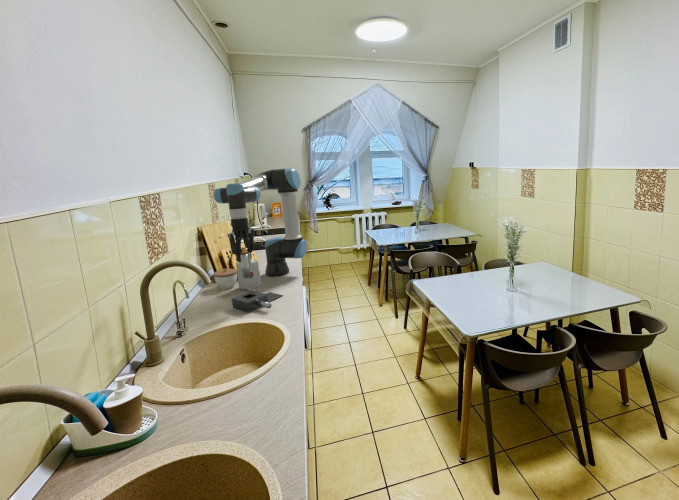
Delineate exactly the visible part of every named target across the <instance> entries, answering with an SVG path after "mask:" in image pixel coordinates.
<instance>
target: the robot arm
mask: <svg viewBox="0 0 679 500" xmlns="http://www.w3.org/2000/svg"><path fill="white" fill-rule="evenodd" d="M301 182H302V181H301V176H300V174H299V172H298V170H296V169H294V168H289V167H288V168H278V169H269V170H266V171H262V172H260V173H257V174H255V175H254V176H253V177H251V178H249V179H246V180H243V181H241V182H238V183H236V182H235V183H228V184H226V187H219V188H215V190H214V191H213V197H214V201H215V202H216V203H218V204H224V205H225V204H228V208H229V209H228V210H229V217H230V218H231V219H230V225H231V228H232V230H231V232H230V233H227V234H226V235H227V237H228V239H229V240H228V241H229V245H230V251H231V255H235V257H236V261H237V262H236V263H239V268H244V263H243V256H242V255H241V248H242V240H243V244H244V248H247V250H248V259H249V266H252V264H251V260H252V257H253V256H252V253H253V252H254V250H255V240H254V239H255V238H254V237H255V236H254V234H255V232H254V231H255V230H254V229H253V228H252V229H251V228H249V219H248V211H247V204H248V203H250V204H251V203H254V202H258V201H259V200H260V199H261V192H263V191H268V190H269V191H270V190H273V191H274V190H277V193H278V195H280V199H281V205H282V206H281V207H282V215H283V217H282V218H283V224H284V232H285V234H284V236H274V237H270V238H268V239H266V240H265V241H264V248H265V249H264V250H265V256H266V257H265V258H266V266H265V267H266V268H265V270H264V271H265V276H267V277H275V276H277V277H282V275H283V276H285V274H286V275H288V274H289V273H290V268H289V266H288V264H287V261H286V259H303V258H304V257H305V255H306V253H307V251H308V242H307V240H306V239H304V237H303V235H302V234H301V233H300V232H301V231H300V223H299V222H300V221H299V215H298V206H297V205H298V204H297V196H296V194H297V193H298V189H300V187H301ZM287 273H288V274H287ZM275 278H276V277H275Z"/></svg>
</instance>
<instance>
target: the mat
mask: <svg viewBox="0 0 679 500" xmlns="http://www.w3.org/2000/svg"><path fill="white" fill-rule="evenodd" d="M266 294H267V296H268V303H271V302H273V301H275V300H277V299H279V298H282V297H284V295H283V294H280V293H275V292H271V291H269V292H267V293H266Z"/></svg>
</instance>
